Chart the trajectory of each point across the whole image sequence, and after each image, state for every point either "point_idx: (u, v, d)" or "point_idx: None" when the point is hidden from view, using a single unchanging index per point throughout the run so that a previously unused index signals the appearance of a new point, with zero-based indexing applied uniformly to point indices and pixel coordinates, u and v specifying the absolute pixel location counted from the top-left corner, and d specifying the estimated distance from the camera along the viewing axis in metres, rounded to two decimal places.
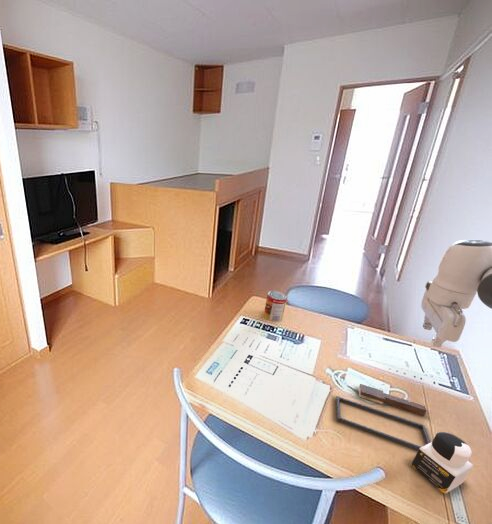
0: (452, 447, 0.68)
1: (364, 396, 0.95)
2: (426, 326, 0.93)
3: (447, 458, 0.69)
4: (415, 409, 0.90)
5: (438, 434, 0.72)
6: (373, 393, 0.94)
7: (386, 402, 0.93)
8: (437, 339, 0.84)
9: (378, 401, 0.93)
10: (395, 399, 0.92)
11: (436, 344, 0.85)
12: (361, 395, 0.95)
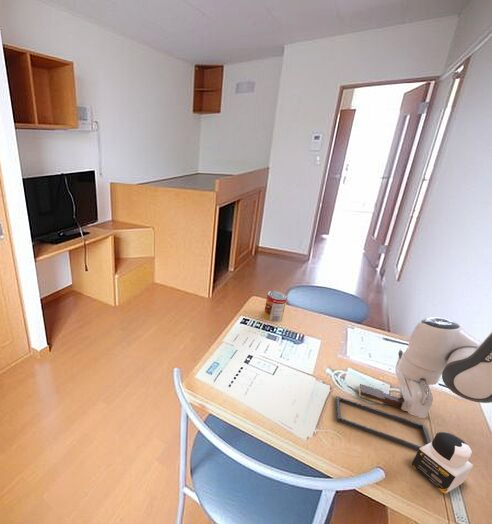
0: (452, 447, 0.68)
1: (364, 396, 0.95)
2: None
3: (447, 458, 0.69)
4: None
5: (438, 434, 0.72)
6: (373, 393, 0.94)
7: (386, 402, 0.93)
8: (405, 404, 0.89)
9: (378, 401, 0.93)
10: (395, 399, 0.92)
11: (404, 408, 0.90)
12: (361, 395, 0.95)
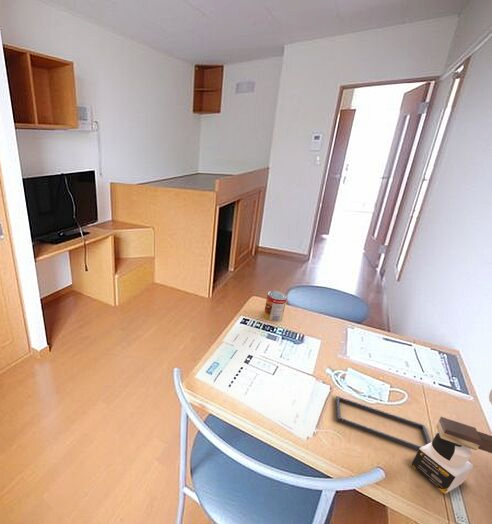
0: (452, 447, 0.68)
1: (450, 435, 0.68)
2: None
3: (447, 458, 0.69)
4: None
5: (438, 434, 0.72)
6: (462, 431, 0.67)
7: (483, 445, 0.66)
8: None
9: (472, 444, 0.67)
10: None
11: None
12: (445, 434, 0.68)
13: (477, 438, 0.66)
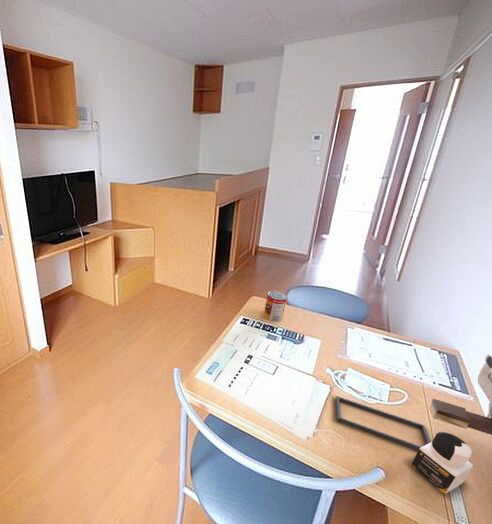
0: (452, 447, 0.68)
1: (441, 415, 0.73)
2: None
3: (447, 458, 0.69)
4: None
5: (438, 434, 0.72)
6: (453, 411, 0.73)
7: (472, 423, 0.71)
8: None
9: (461, 423, 0.72)
10: (485, 420, 0.70)
11: None
12: (437, 414, 0.74)
13: (466, 417, 0.71)
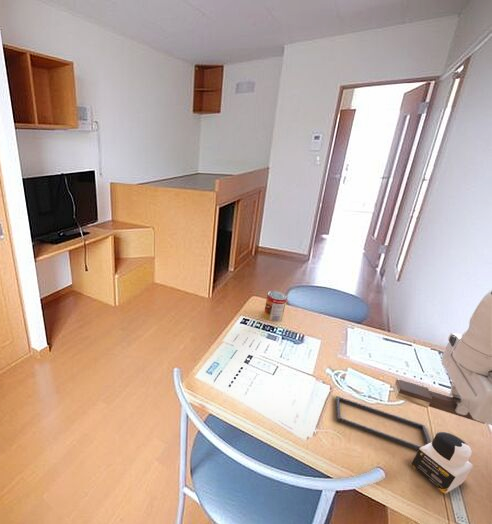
0: (452, 447, 0.68)
1: (403, 395, 0.72)
2: None
3: (447, 458, 0.69)
4: None
5: (438, 434, 0.72)
6: (415, 391, 0.72)
7: (433, 403, 0.71)
8: (462, 406, 0.66)
9: (423, 402, 0.71)
10: (446, 399, 0.70)
11: (461, 411, 0.67)
12: (399, 393, 0.73)
13: (428, 396, 0.70)
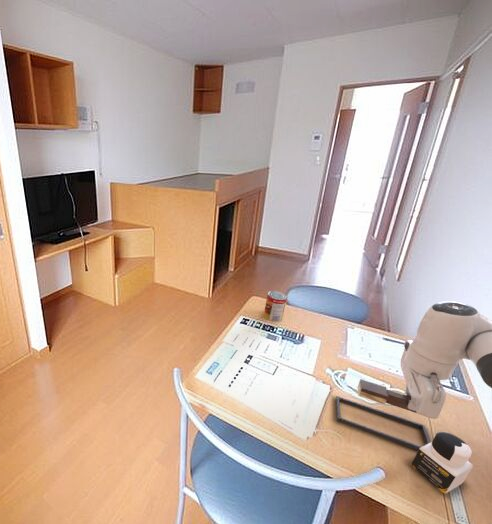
0: (452, 447, 0.68)
1: (365, 393, 0.84)
2: None
3: (447, 458, 0.69)
4: None
5: (438, 434, 0.72)
6: (374, 389, 0.83)
7: (390, 400, 0.82)
8: (412, 402, 0.77)
9: (381, 399, 0.82)
10: (400, 397, 0.81)
11: (411, 407, 0.78)
12: (361, 392, 0.84)
13: (385, 394, 0.81)
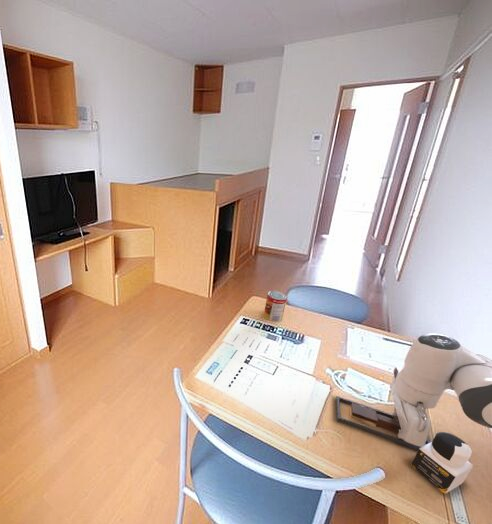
0: (452, 447, 0.68)
1: (355, 417, 0.87)
2: (396, 417, 0.86)
3: (447, 458, 0.69)
4: None
5: (438, 434, 0.72)
6: (365, 414, 0.86)
7: (379, 424, 0.85)
8: (402, 433, 0.80)
9: (371, 423, 0.86)
10: (389, 421, 0.84)
11: (401, 437, 0.81)
12: (352, 416, 0.87)
13: (374, 418, 0.85)
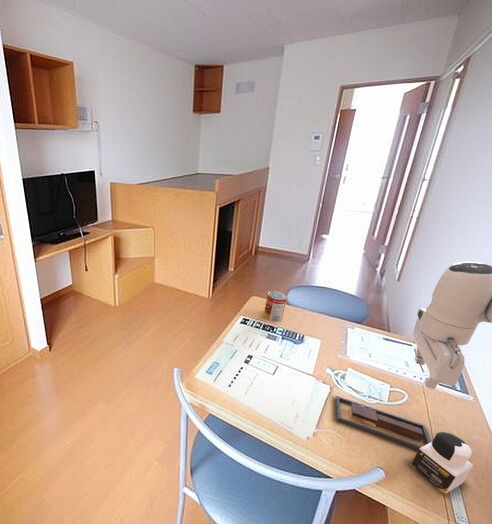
0: (452, 447, 0.68)
1: (355, 417, 0.87)
2: (418, 360, 0.80)
3: (447, 458, 0.69)
4: (411, 432, 0.82)
5: (438, 434, 0.72)
6: (365, 414, 0.86)
7: (379, 424, 0.85)
8: (431, 380, 0.71)
9: (371, 423, 0.86)
10: (389, 421, 0.84)
11: (430, 385, 0.72)
12: (352, 416, 0.87)
13: (374, 418, 0.85)
